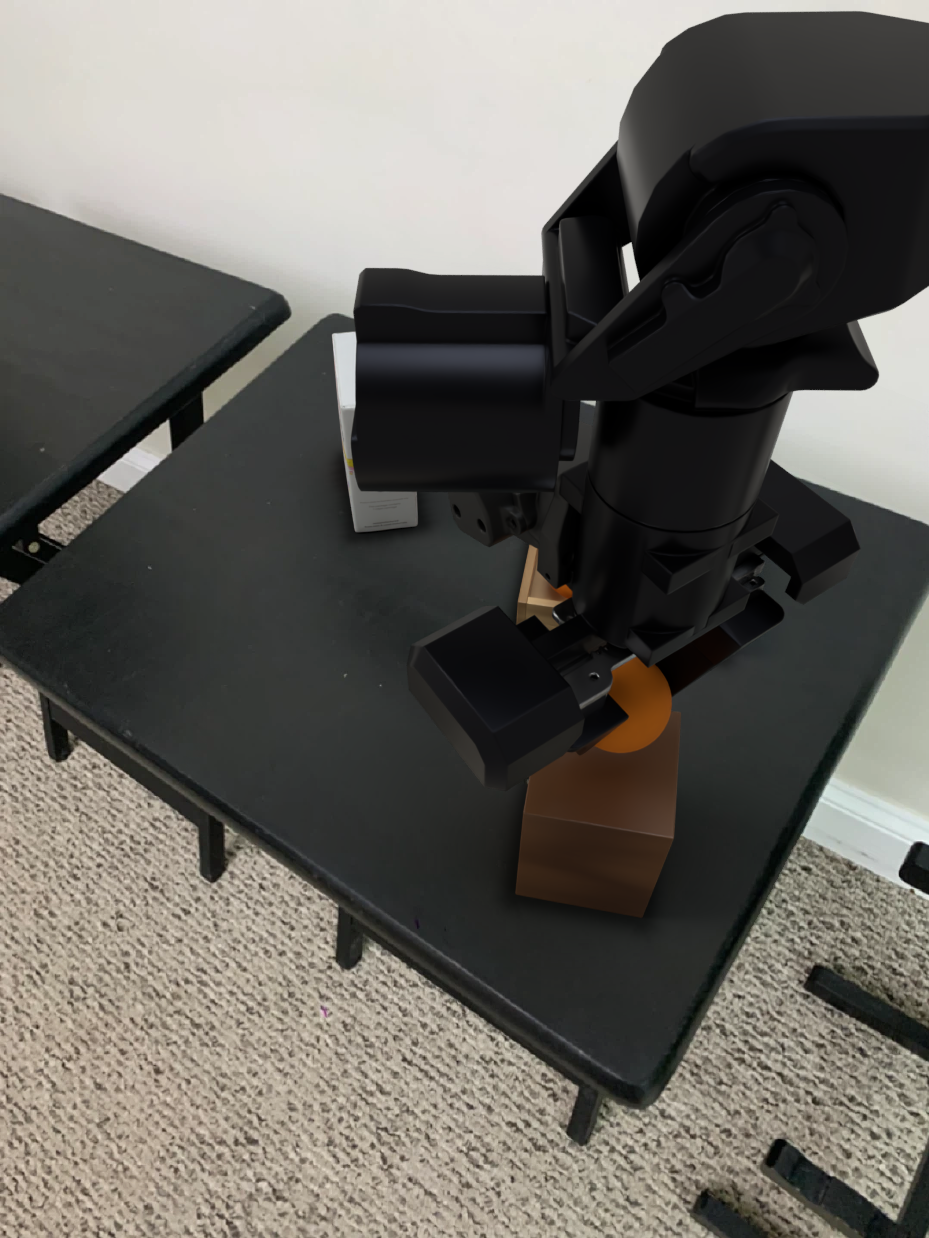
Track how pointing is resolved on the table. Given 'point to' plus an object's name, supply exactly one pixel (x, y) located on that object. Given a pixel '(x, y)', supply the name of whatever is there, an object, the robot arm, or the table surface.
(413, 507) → the ink box
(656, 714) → the clementine
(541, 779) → the brown wooden block
